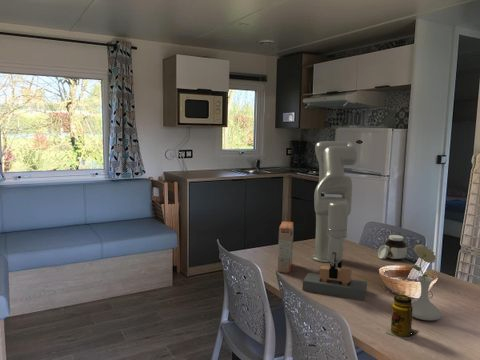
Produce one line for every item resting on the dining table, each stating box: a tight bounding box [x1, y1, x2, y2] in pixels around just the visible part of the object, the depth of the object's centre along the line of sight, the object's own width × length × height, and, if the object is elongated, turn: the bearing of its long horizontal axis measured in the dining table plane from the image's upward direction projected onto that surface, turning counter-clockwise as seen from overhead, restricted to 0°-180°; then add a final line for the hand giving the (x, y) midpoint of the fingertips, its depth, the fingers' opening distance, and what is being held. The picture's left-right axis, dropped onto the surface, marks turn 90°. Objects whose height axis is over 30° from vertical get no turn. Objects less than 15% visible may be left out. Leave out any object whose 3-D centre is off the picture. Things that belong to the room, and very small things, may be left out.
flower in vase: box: [411, 244, 442, 321], centre depth 144 cm, size 13×11×25 cm
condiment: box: [386, 294, 418, 341], centre depth 132 cm, size 7×8×12 cm
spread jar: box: [377, 234, 408, 262], centre depth 208 cm, size 12×11×12 cm
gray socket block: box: [302, 272, 368, 301], centre depth 166 cm, size 10×24×4 cm, turn 67°
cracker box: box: [277, 221, 294, 274], centre depth 192 cm, size 14×6×21 cm, turn 168°
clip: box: [319, 265, 353, 286], centre depth 166 cm, size 4×12×9 cm, turn 68°
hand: (335, 274), depth 166 cm, fingers open, 9 cm apart
